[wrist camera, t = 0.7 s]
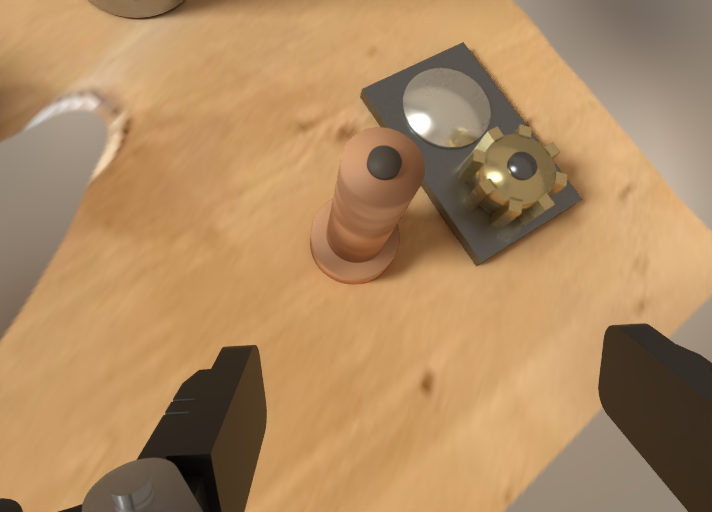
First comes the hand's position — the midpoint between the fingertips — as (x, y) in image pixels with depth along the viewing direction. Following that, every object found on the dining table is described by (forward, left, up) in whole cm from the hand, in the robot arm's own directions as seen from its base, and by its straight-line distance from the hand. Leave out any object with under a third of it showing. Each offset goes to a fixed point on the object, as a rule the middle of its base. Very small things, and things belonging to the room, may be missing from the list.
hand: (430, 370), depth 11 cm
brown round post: (-8, +6, -21) cm, 23 cm away
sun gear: (-6, +18, -21) cm, 28 cm away
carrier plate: (-10, +18, -21) cm, 29 cm away
